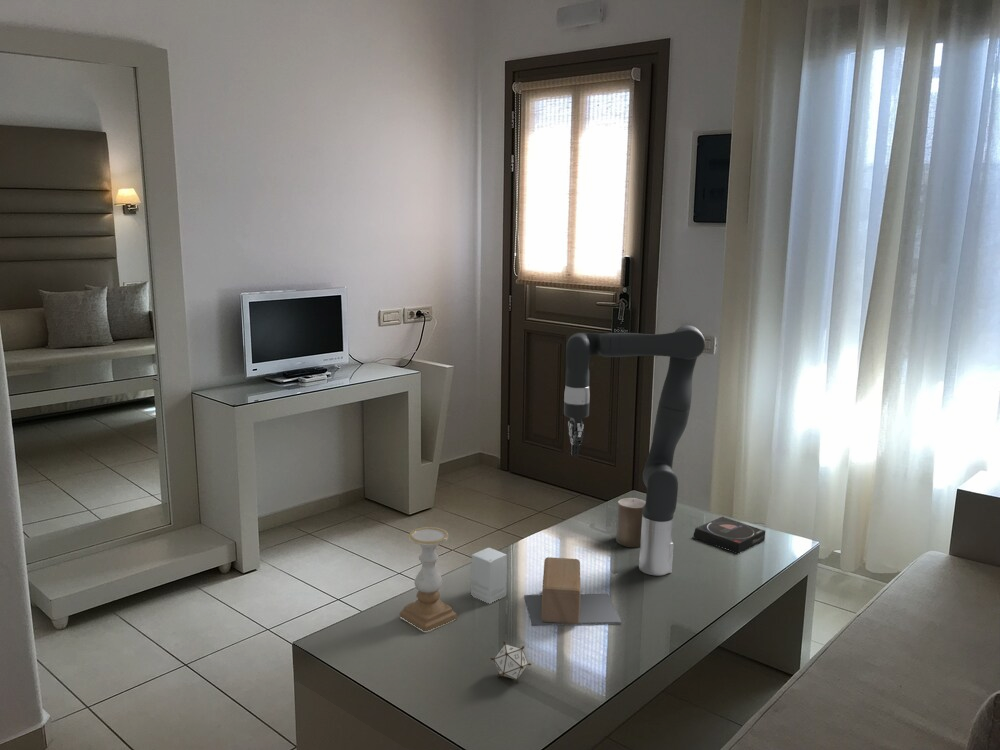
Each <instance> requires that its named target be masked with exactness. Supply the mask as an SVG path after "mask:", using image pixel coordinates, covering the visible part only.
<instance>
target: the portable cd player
mask: <svg viewBox="0 0 1000 750" xmlns="http://www.w3.org/2000/svg"><path fill="white" fill-rule="evenodd" d="M692 536H693V538H694V537H695V538H694V539H696V538H697V539H696V540H699V539H700V540H699V541H702V540H703V541H702V542H704V541H705V543H707V542H708V543H707V544H709V545H712V546H715V545H717V546H716V547H718V546H720V547H719V548H721V547H723V548H726V549H729V550H731V551H730V552H732V551H734V552H736V553H735V554H737V553H739V554H741V553H743V552H744V551H747V550H749V549H751V548H753V547H755V546H757V545H758V544H760V543H763V542H765V539H766V530H764V529H761V528H758V527H755V526H751V525H749V524H746V523H744V522H739V521H737V520H734V519H731V518H729V517H725V516H720V517H718V518H716V519H714V520H712V521H711V520H710V521H708V522H707V523H704V524H702V525H699V526H697V527H695V529H694V531H693V535H692ZM723 548H722V549H723ZM726 549H725V550H726ZM729 550H728V551H729ZM734 552H733V553H734ZM740 552H741V553H740Z"/></svg>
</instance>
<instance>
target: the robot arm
mask: <svg viewBox="0 0 1000 750" xmlns="http://www.w3.org/2000/svg"><path fill="white" fill-rule="evenodd" d="M705 349H706V339H705V337H704V335H703V333H702V332H701V331H700V330H699V329H698V328H697V327H695V326H693V325H682V326H680V327H678V328H677V329H676V330H675V331H673V332H667V333H658V334H657V333H655V334H654V333H653V334H650V333H635V332H611V333H610V332H609V333H608V332H607V333H597V332H596V333H595V332H576V333H573V334H572V335H571V336H570V337H569V338H568V340H567V342H566V346H565V360H566V370H565V371H566V372H565V388H564V398H563V401H564V402H563V415H564V416H565V417H567V418H569V420H568V422H567V427H568V436H569V440H570V444H571V446H570V455H571V457H573V458H579V457H580V445H581V446H582V443H583V439H584V436H585V432H584V428H585V427H584V426H585V425H584V422H583V419H584V418H588V417H589V416H590V397H591V394H590V393H591V392H590V369H589V367H590V356H602V357H603V358H604V357H605V358H621V357H622V358H624V357H625V358H626V357H643V356H652V357H653V356H656V357H660V356H661V357H669V361H668V368H667V373H666V376H665V379H664V381H663V382H664V383H663V385H662V386H663V387H662V390H661V392H660V397H659V401H658V404H657V405H658V406H657V410H656V416H655V422H654V428H653V433H652V442H651V445H650V449H649V453H648V456H647V459H646V462H645V465H644V468H643V471H642V481H643V484H644V485H645V487H646V494H645V495H646V496H645V501H646V504H645V505H644V506H643V512H642V528H641V543H640V547H639V560H638V569H639V571H641V572H642V573H644V574H647V575H651V576H664V575H667V574H672V571H673V557H674V542H673V541H672V539H673V529H674V528H673V526H674V514H675V512H676V509H677V502H678V491H679V480H678V477H677V474H676V473H675V472H674V471H673V463H674V457H675V456H674V455H675V450H676V448H677V444H678V443H679V441H680V439H681V438H682V436H683V434H684V432H685V429H686V428H687V425H688V420H689V415H690V412H691V405H692V395H693V376H694V371H695V366H696V364H697V359H698V357H700V356H701V355H702V353H703V352H704V351H705Z"/></svg>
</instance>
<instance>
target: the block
mask: <svg viewBox="0 0 1000 750" xmlns="http://www.w3.org/2000/svg"><path fill="white" fill-rule="evenodd" d="M543 563H544V564H543V576H542V577H543V578H542V588H541V589H542V590H541V591H542V592H541V595H542V611H541V618H542V621H544V622H554V623H569V624H577V623H578V622H579V617H580V597H581V594H582V586H581V562H580V560H579V559H578V558H565V557H550V556H548V557H545V558H544V561H543Z"/></svg>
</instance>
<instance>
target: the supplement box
mask: <svg viewBox="0 0 1000 750" xmlns="http://www.w3.org/2000/svg"><path fill="white" fill-rule="evenodd" d="M470 566H471V569H470V570H471V571H470V572H471V575H470V576H471V577H470V578H471V579H470V580H471V581H470V583H471V584H470V585H471V588H470V591H471V593H470V594H471V595H472V596H474V597H473V598H475V597H476V598H475V599H477V598H478V599H477V600H479V599H480V600H479V601H481V600H482V601H481V602H483V601H484V603H485V602H486V604H488V603H489V604H488V605H491V604H493V603H495V602H497V601H499V600H501V599H503V598H505V597H507V580H508V574H507V573H508V569H507V568H508V567H507V566H508V554H506V553H503V552H501V551H499V550H496V549H494V548H491V547H487V548H484V549H481V550H479V551H478V552H475V553H473V554H471V565H470ZM471 595H470V596H471ZM472 596H471V597H472ZM498 599H499V600H498ZM496 600H497V601H496ZM494 601H495V602H494ZM492 602H493V603H492ZM490 603H491V604H490Z"/></svg>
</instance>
